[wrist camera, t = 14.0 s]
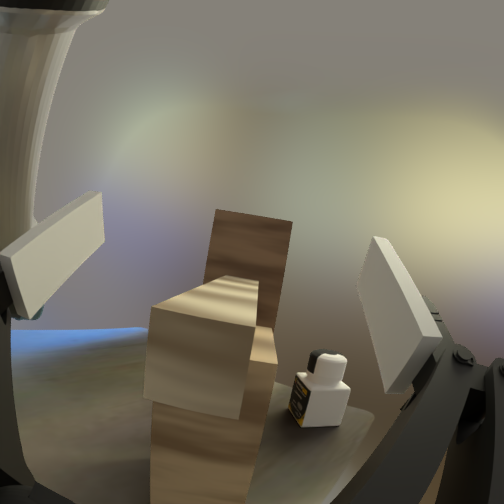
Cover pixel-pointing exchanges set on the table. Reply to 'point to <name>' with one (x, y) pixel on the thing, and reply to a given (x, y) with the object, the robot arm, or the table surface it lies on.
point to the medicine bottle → (320, 390)
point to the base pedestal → (213, 440)
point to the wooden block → (202, 347)
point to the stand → (251, 256)
